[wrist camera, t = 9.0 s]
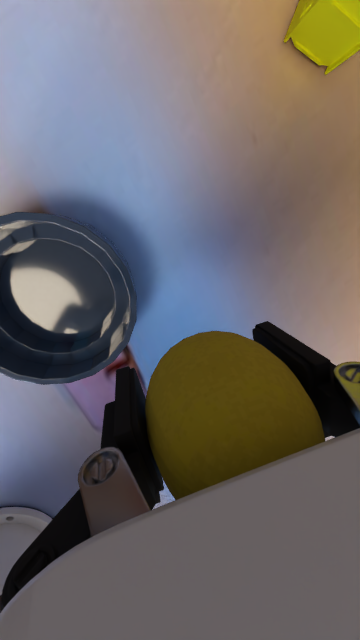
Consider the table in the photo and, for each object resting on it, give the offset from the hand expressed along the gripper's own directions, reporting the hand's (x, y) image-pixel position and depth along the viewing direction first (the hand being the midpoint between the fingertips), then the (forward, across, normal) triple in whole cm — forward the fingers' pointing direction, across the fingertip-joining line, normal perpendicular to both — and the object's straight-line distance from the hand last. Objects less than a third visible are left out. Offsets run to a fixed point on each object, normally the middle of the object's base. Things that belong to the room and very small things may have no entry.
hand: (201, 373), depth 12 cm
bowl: (+17, +9, -3) cm, 20 cm away
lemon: (+2, 0, 0) cm, 2 cm away
